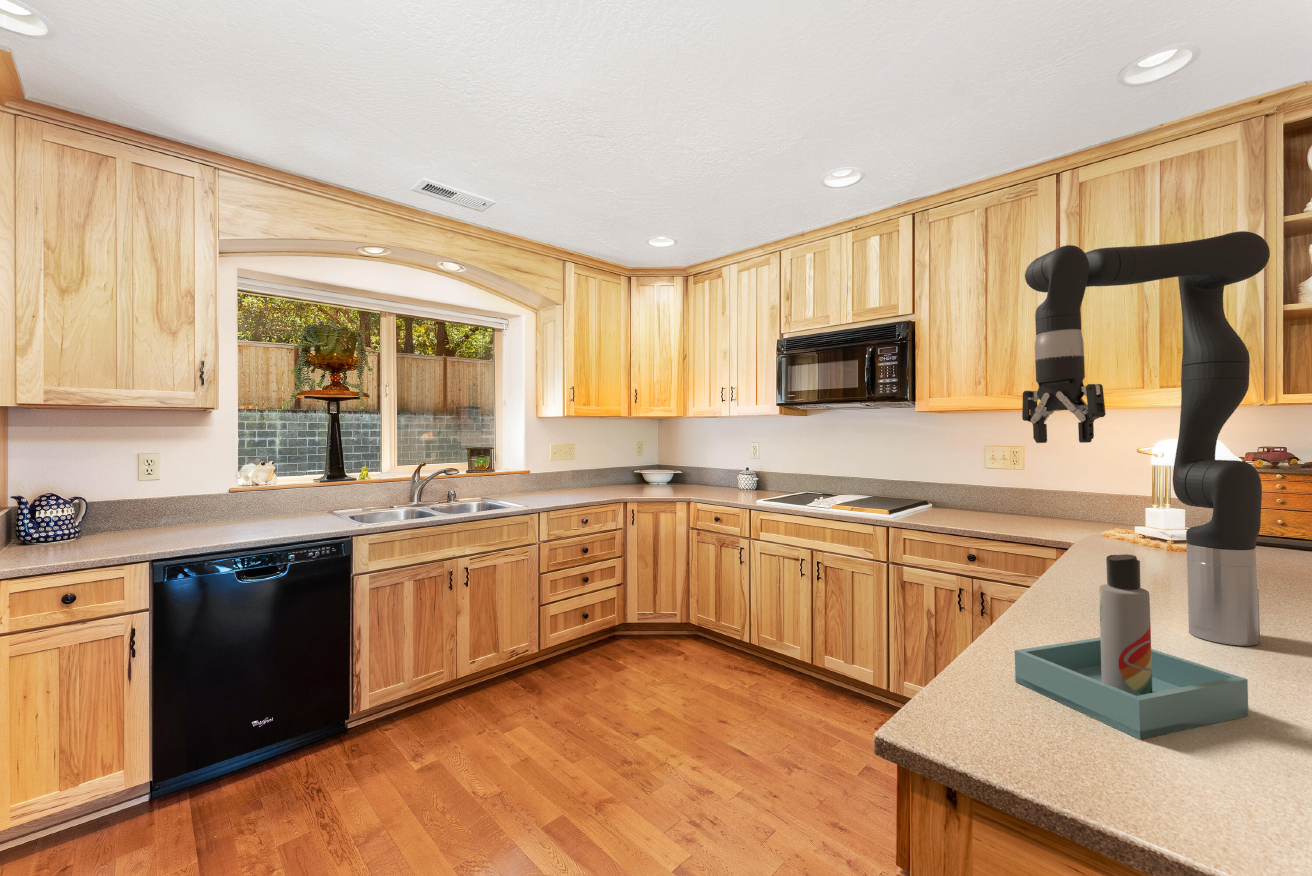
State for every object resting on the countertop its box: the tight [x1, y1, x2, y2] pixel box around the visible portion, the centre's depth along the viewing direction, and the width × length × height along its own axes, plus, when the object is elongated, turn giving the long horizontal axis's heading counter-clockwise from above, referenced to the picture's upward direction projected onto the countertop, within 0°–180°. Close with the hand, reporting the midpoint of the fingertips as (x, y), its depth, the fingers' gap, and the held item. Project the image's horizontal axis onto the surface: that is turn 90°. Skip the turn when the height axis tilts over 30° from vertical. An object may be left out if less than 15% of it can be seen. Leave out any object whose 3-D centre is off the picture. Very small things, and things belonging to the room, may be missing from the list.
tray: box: [1014, 637, 1249, 741], centre depth 83 cm, size 20×18×5 cm
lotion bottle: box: [1098, 553, 1152, 696], centre depth 82 cm, size 6×6×20 cm
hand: (1062, 442), depth 106 cm, fingers open, 8 cm apart
